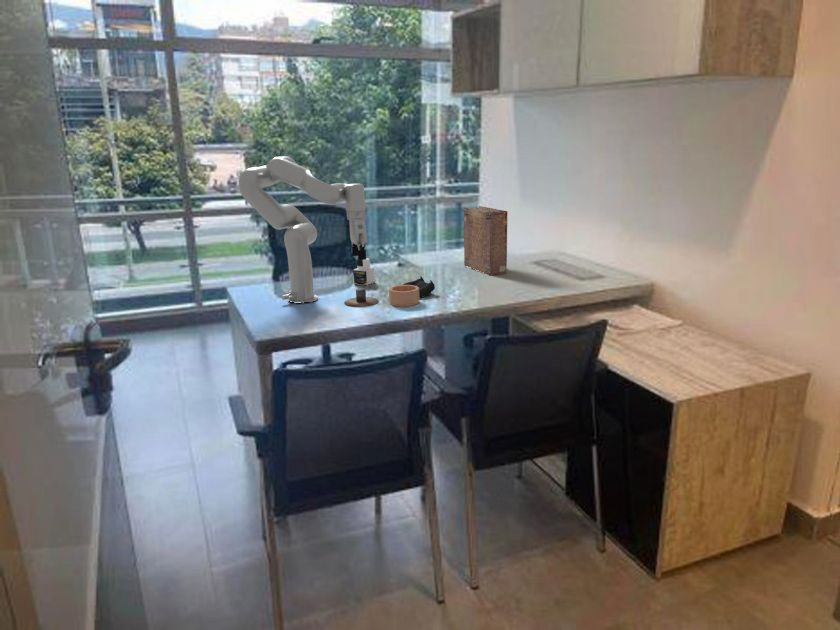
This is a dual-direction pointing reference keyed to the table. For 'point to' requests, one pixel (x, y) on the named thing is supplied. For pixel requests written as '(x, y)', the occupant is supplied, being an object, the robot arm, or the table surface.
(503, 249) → the brown lidded box
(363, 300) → the walnut lid
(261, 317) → the table surface
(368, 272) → the medicine bottle
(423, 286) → the gaming controller
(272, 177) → the robot arm
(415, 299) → the terracotta bowl
